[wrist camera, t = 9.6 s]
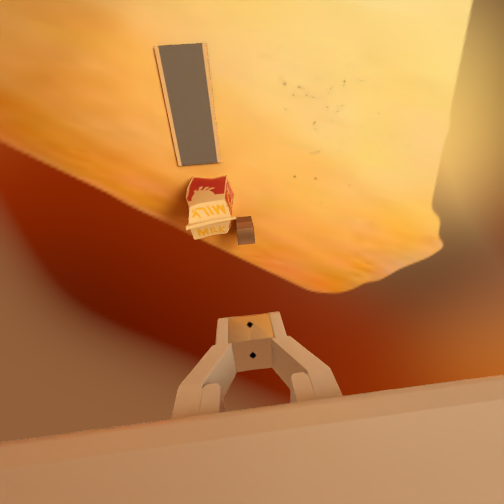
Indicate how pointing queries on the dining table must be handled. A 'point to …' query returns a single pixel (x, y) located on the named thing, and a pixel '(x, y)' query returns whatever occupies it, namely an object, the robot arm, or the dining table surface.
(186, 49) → the strip
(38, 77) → the dining table surface
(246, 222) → the walnut block
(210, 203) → the milk carton
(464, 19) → the dining table surface
